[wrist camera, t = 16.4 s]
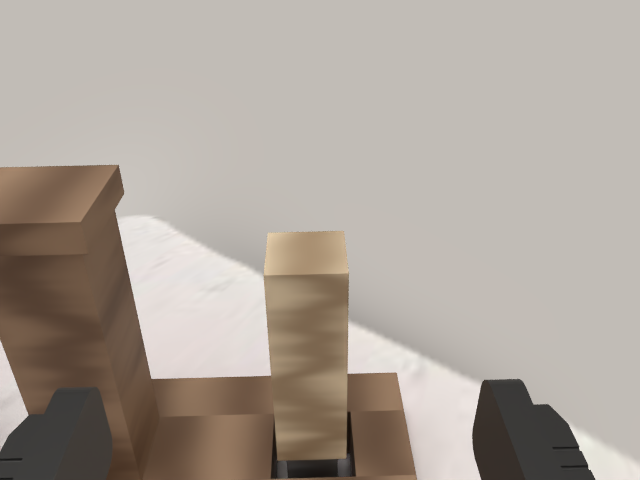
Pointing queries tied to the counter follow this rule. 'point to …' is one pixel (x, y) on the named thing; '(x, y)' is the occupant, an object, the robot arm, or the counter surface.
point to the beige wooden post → (308, 348)
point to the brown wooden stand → (129, 353)
